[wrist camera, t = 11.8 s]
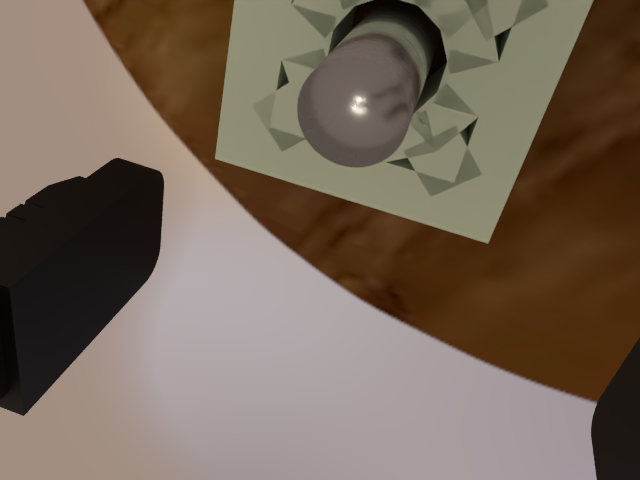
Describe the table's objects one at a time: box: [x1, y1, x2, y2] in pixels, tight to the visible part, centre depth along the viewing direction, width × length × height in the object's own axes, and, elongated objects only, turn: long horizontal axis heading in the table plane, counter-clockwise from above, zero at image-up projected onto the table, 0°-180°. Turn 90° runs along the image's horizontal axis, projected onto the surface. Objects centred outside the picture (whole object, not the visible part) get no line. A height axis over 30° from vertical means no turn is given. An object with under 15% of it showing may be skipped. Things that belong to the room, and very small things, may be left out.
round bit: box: [297, 0, 440, 167], centre depth 25 cm, size 4×4×12 cm
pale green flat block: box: [215, 0, 593, 243], centre depth 28 cm, size 14×14×5 cm
